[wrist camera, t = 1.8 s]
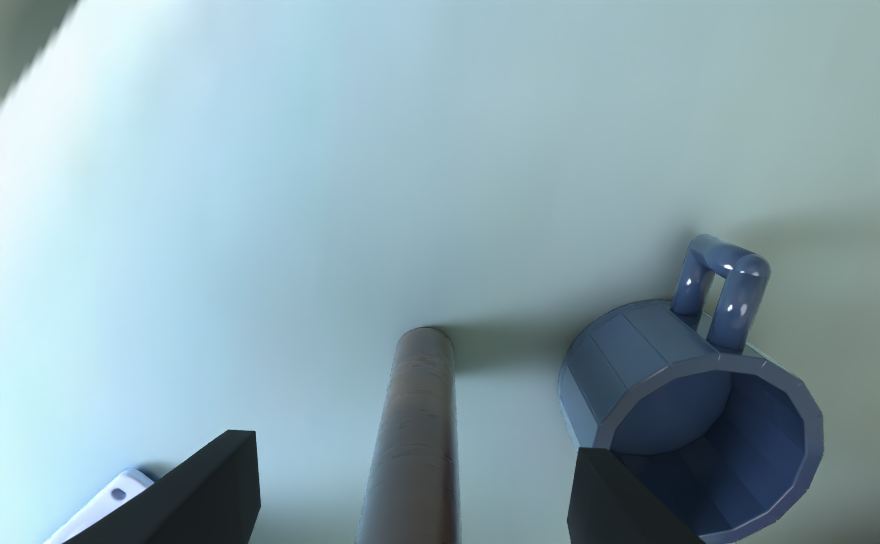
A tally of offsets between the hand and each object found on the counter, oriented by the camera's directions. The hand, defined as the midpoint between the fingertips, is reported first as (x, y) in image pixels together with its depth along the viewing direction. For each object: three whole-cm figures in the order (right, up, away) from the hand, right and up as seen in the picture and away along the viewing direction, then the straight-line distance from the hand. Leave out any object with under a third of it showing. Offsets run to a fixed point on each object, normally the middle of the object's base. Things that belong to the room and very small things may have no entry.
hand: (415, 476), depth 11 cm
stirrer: (0, +2, +6) cm, 6 cm away
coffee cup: (+8, +2, +6) cm, 10 cm away
